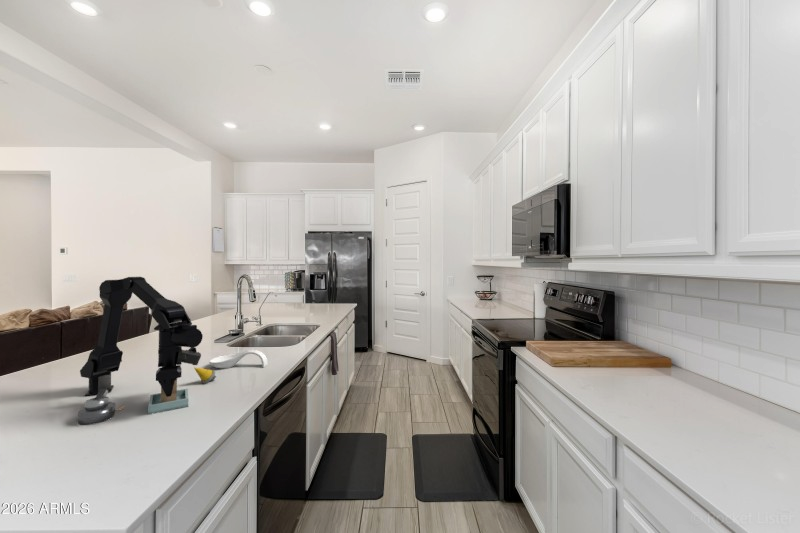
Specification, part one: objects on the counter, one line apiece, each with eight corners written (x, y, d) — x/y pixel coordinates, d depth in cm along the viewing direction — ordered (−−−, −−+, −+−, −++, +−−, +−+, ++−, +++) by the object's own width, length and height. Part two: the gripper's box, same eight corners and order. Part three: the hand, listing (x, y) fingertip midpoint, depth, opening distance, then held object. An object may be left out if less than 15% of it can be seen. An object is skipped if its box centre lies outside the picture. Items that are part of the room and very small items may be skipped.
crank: (106, 408, 93) (107, 389, 93) (82, 412, 90) (83, 393, 90) (115, 389, 106) (115, 373, 106) (95, 392, 103) (95, 376, 103)
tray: (150, 402, 104) (150, 394, 104) (187, 395, 110) (187, 388, 110) (148, 414, 96) (148, 406, 96) (188, 406, 102) (188, 398, 102)
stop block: (161, 401, 103) (161, 380, 103) (176, 399, 106) (176, 377, 106) (160, 406, 100) (161, 384, 100) (176, 403, 102) (176, 381, 102)
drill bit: (217, 384, 122) (196, 371, 116) (206, 389, 123) (185, 376, 117) (222, 372, 126) (202, 358, 120) (211, 376, 127) (191, 363, 121)
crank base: (81, 414, 95) (82, 404, 95) (126, 406, 101) (126, 397, 101) (73, 427, 88) (73, 416, 88) (121, 418, 93) (122, 408, 93)
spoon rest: (203, 371, 135) (203, 354, 135) (217, 362, 147) (217, 347, 147) (262, 370, 137) (262, 354, 137) (270, 362, 149) (271, 346, 149)
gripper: (201, 347, 100) (200, 398, 100) (198, 336, 115) (197, 379, 115) (156, 352, 93) (155, 406, 93) (159, 339, 109) (158, 385, 109)
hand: (169, 393), depth 103 cm, fingers open, 5 cm apart
